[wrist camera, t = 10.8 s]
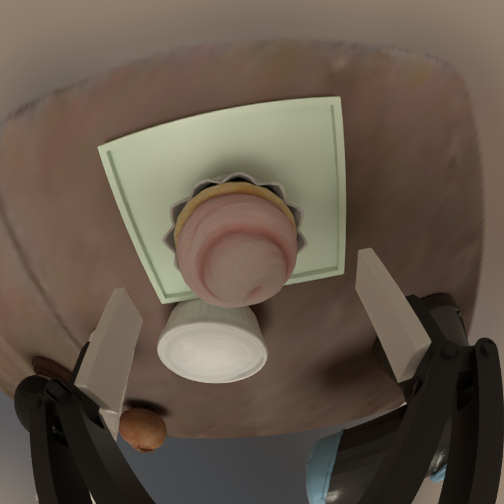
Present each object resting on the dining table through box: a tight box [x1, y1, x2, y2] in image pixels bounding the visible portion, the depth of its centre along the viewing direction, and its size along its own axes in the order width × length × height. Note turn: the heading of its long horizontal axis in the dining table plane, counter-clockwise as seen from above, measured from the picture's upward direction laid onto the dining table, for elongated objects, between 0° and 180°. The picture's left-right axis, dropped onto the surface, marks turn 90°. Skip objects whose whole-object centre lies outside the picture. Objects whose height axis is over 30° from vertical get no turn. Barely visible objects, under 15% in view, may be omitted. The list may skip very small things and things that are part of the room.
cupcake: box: [162, 172, 308, 308], centre depth 17 cm, size 9×9×10 cm
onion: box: [119, 407, 167, 452], centre depth 40 cm, size 10×9×10 cm
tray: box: [98, 96, 346, 304], centre depth 21 cm, size 18×16×1 cm
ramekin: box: [157, 299, 268, 383], centre depth 27 cm, size 11×11×5 cm
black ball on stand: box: [14, 356, 72, 433], centre depth 31 cm, size 13×13×15 cm
